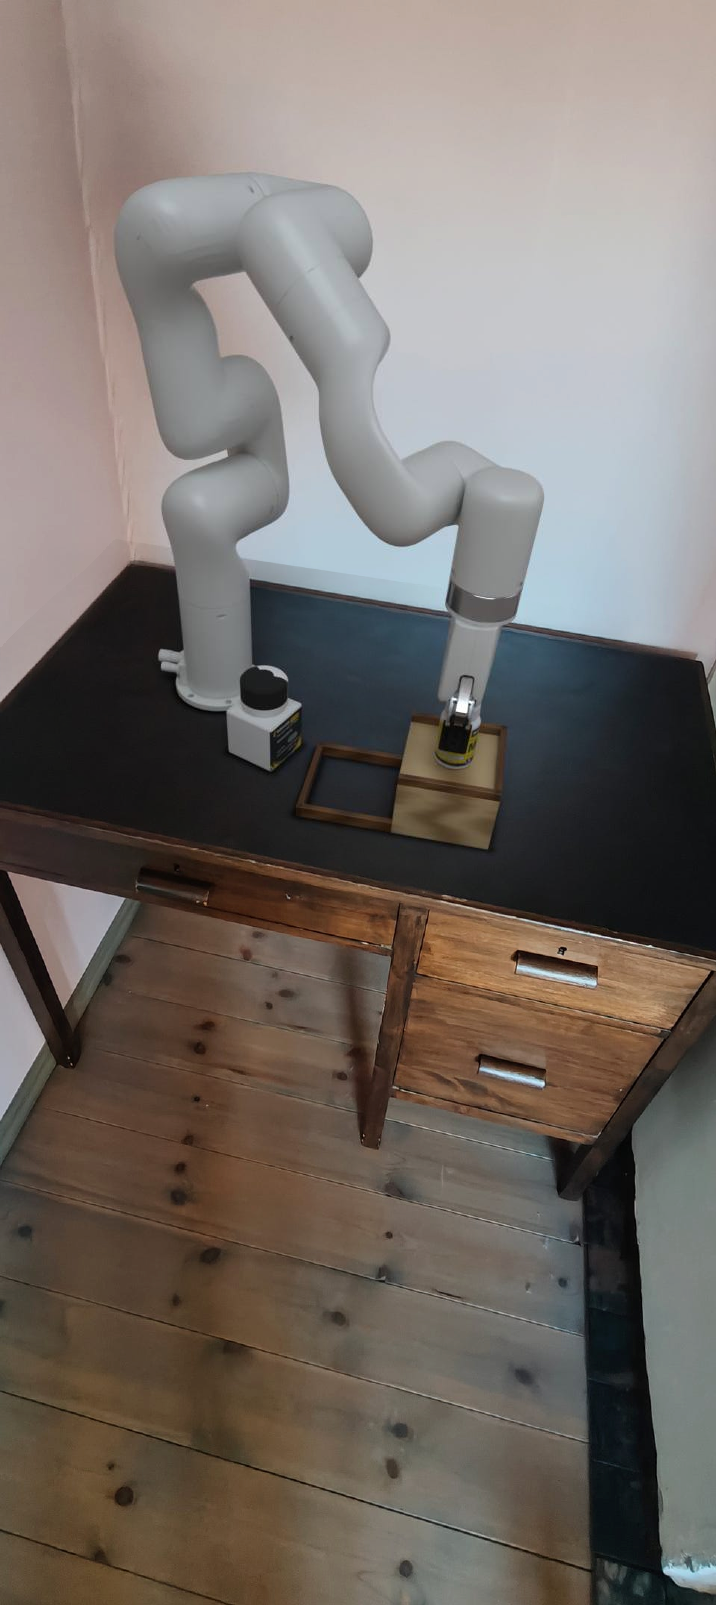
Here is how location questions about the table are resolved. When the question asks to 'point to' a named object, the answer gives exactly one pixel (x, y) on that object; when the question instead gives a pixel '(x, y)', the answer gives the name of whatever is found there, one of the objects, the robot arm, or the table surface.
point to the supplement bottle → (466, 759)
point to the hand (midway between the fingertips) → (456, 724)
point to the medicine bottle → (264, 718)
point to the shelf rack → (427, 787)
